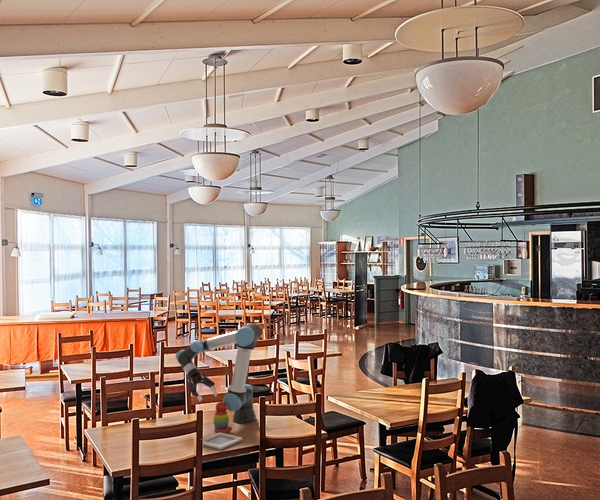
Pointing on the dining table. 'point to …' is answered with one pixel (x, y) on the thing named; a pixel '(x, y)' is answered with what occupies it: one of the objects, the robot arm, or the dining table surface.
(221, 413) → the stacking bear
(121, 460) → the dining table surface
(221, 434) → the white square tray
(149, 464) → the dining table surface
